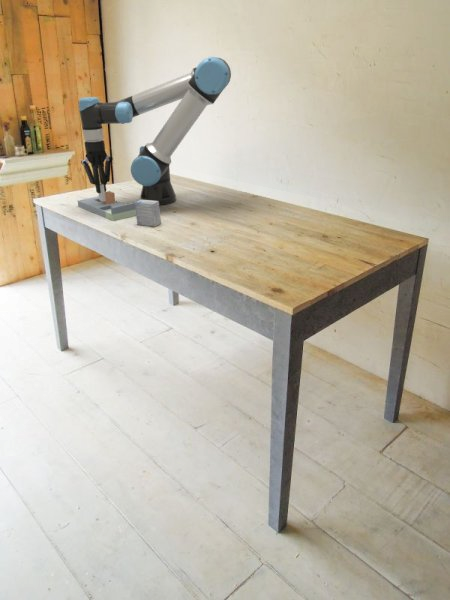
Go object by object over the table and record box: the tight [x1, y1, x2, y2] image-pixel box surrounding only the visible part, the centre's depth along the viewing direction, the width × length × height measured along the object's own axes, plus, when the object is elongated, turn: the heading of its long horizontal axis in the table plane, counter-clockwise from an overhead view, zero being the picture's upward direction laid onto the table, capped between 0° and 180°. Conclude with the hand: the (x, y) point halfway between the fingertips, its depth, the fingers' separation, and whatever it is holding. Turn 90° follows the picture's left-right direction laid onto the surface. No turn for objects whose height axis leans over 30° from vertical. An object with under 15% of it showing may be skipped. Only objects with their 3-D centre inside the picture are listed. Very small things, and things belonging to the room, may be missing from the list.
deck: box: [77, 195, 136, 222], centre depth 204 cm, size 30×11×5 cm, turn 41°
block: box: [102, 190, 116, 204], centre depth 206 cm, size 4×4×4 cm
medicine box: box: [135, 199, 162, 227], centre depth 184 cm, size 8×4×9 cm, turn 65°
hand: (102, 200), depth 204 cm, fingers closed
